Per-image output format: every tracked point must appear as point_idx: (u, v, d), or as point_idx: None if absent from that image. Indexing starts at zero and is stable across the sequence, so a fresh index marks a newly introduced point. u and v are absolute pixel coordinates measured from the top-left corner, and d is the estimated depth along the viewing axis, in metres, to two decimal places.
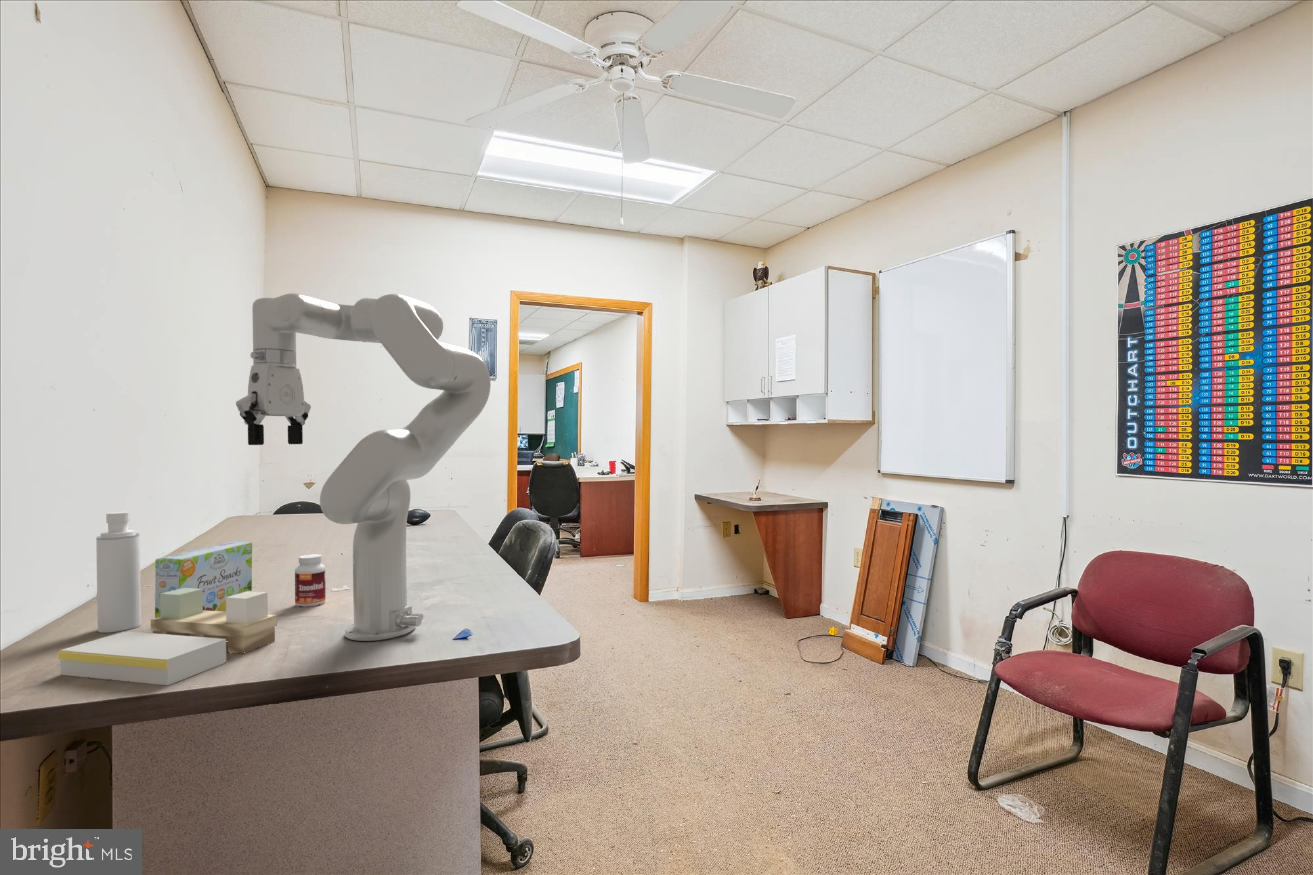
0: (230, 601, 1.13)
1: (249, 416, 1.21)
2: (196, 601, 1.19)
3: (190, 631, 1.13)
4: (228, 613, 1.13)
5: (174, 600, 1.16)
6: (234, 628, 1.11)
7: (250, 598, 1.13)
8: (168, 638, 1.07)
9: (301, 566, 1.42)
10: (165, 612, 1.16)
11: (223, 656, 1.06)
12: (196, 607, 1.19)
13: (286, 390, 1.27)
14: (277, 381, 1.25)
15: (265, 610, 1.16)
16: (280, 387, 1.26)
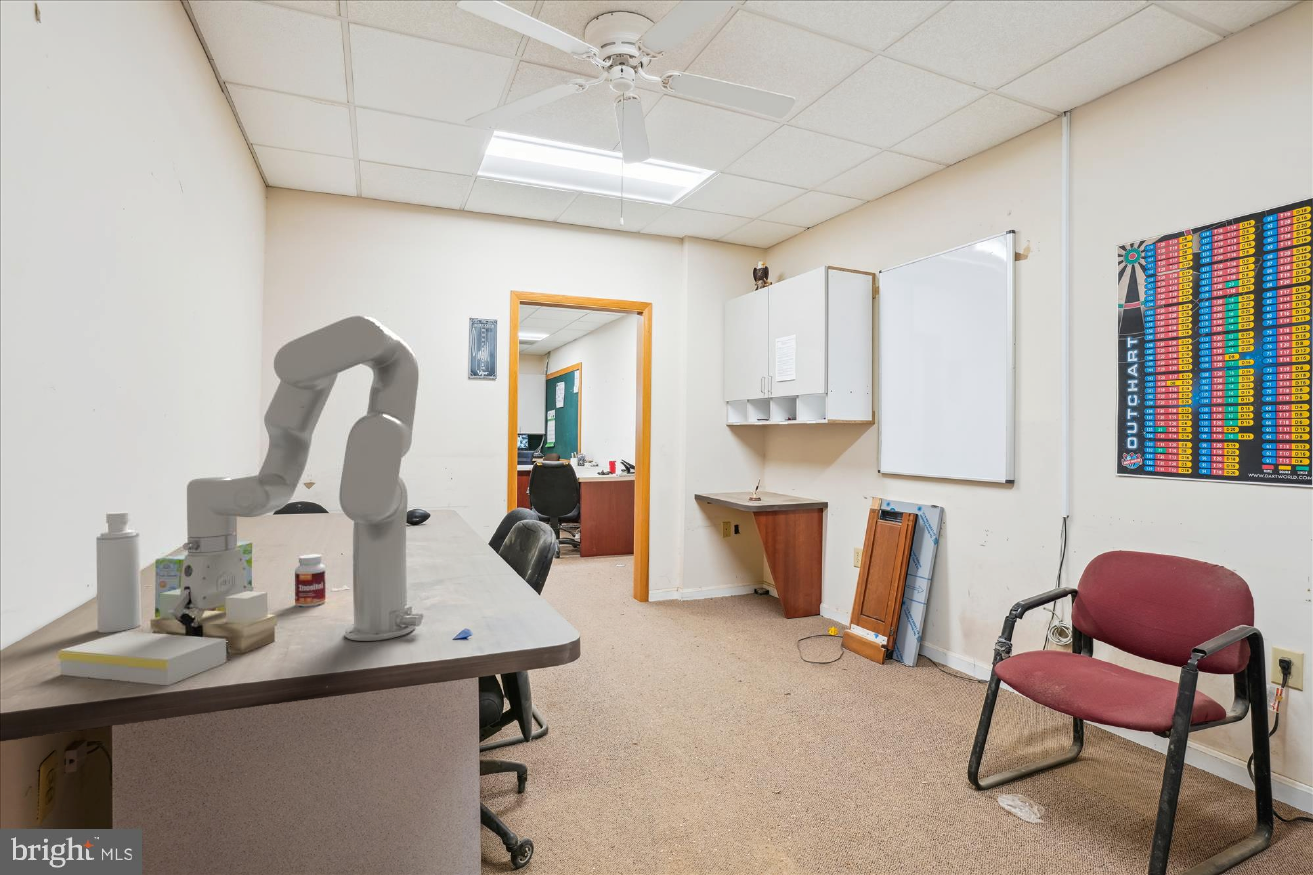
0: (230, 601, 1.13)
1: (186, 620, 1.10)
2: None
3: None
4: (228, 613, 1.13)
5: (174, 600, 1.16)
6: (234, 628, 1.11)
7: (250, 598, 1.13)
8: (168, 638, 1.07)
9: (301, 566, 1.42)
10: (164, 612, 1.16)
11: (223, 656, 1.06)
12: None
13: (224, 578, 1.16)
14: (214, 571, 1.14)
15: (265, 610, 1.16)
16: (217, 577, 1.14)
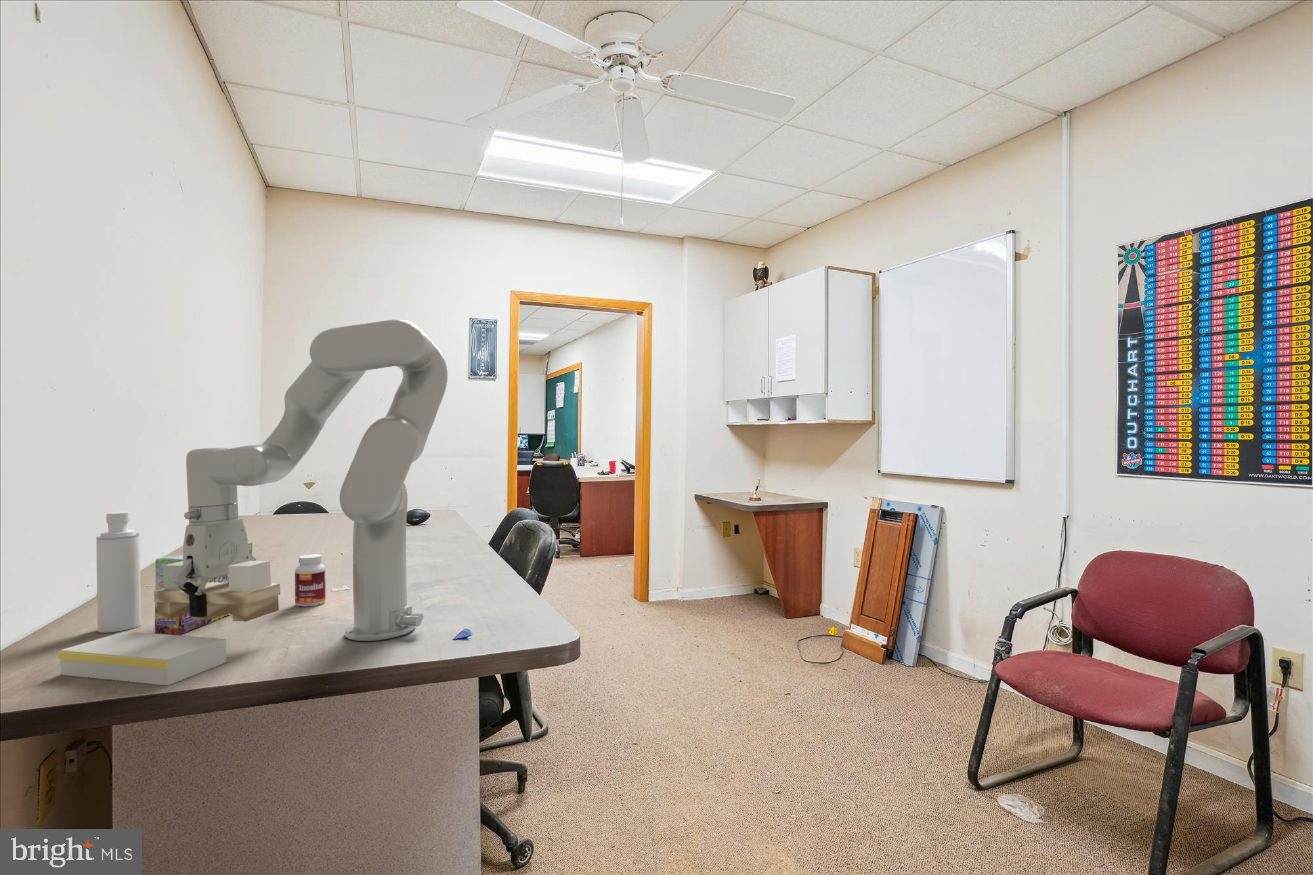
0: (233, 569, 1.13)
1: (189, 588, 1.10)
2: None
3: None
4: (231, 582, 1.13)
5: None
6: (237, 596, 1.11)
7: (252, 566, 1.13)
8: (168, 638, 1.07)
9: (301, 566, 1.42)
10: (168, 584, 1.16)
11: (223, 656, 1.06)
12: None
13: (226, 548, 1.16)
14: (216, 540, 1.14)
15: (268, 578, 1.16)
16: (219, 547, 1.14)
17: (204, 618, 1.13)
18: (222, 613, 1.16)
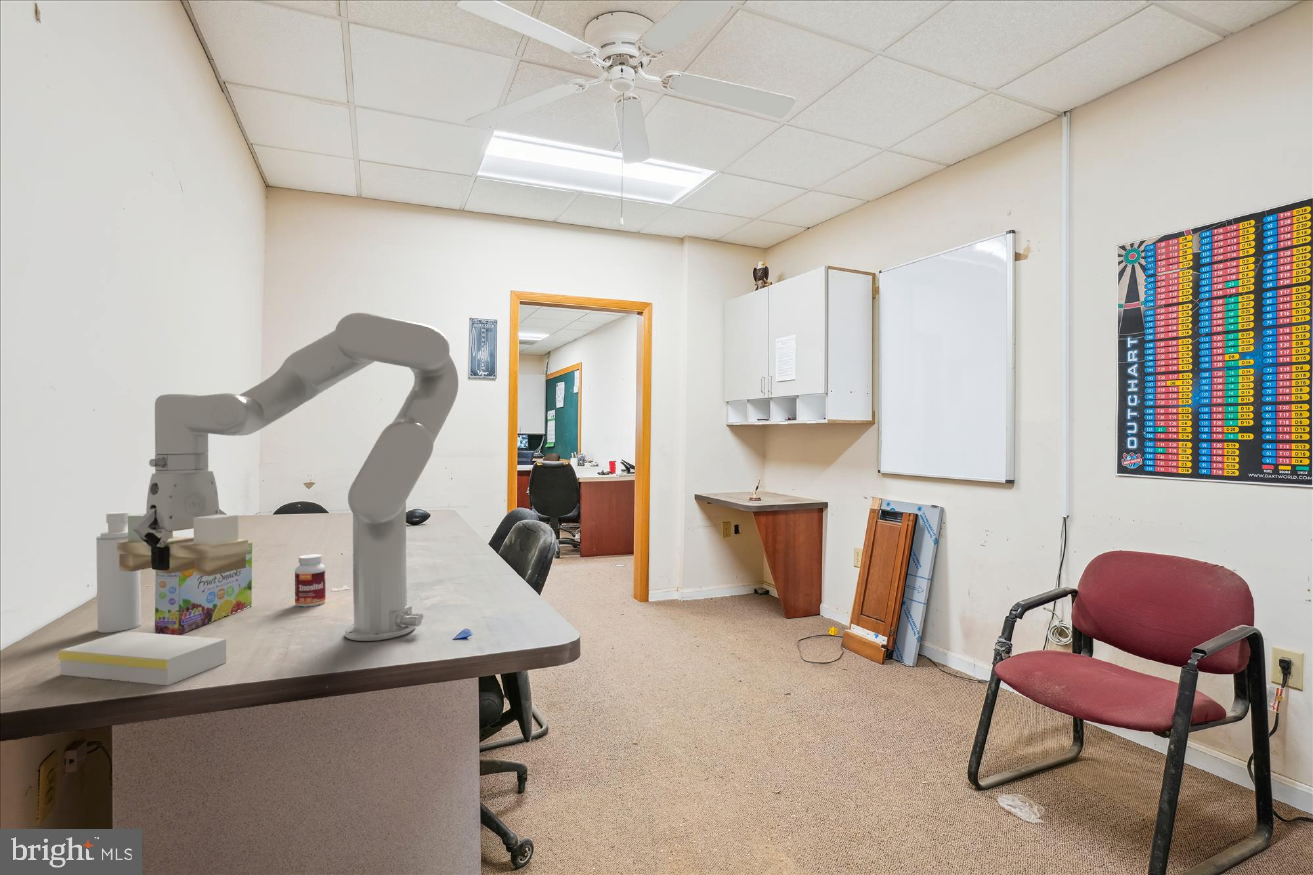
0: (198, 521, 1.07)
1: (151, 539, 1.05)
2: None
3: None
4: (196, 534, 1.07)
5: None
6: (201, 549, 1.05)
7: (218, 518, 1.07)
8: (168, 638, 1.07)
9: (301, 566, 1.42)
10: (132, 535, 1.11)
11: (223, 656, 1.06)
12: None
13: (193, 499, 1.10)
14: (182, 491, 1.08)
15: (235, 533, 1.10)
16: (185, 498, 1.09)
17: (166, 572, 1.07)
18: (186, 568, 1.10)
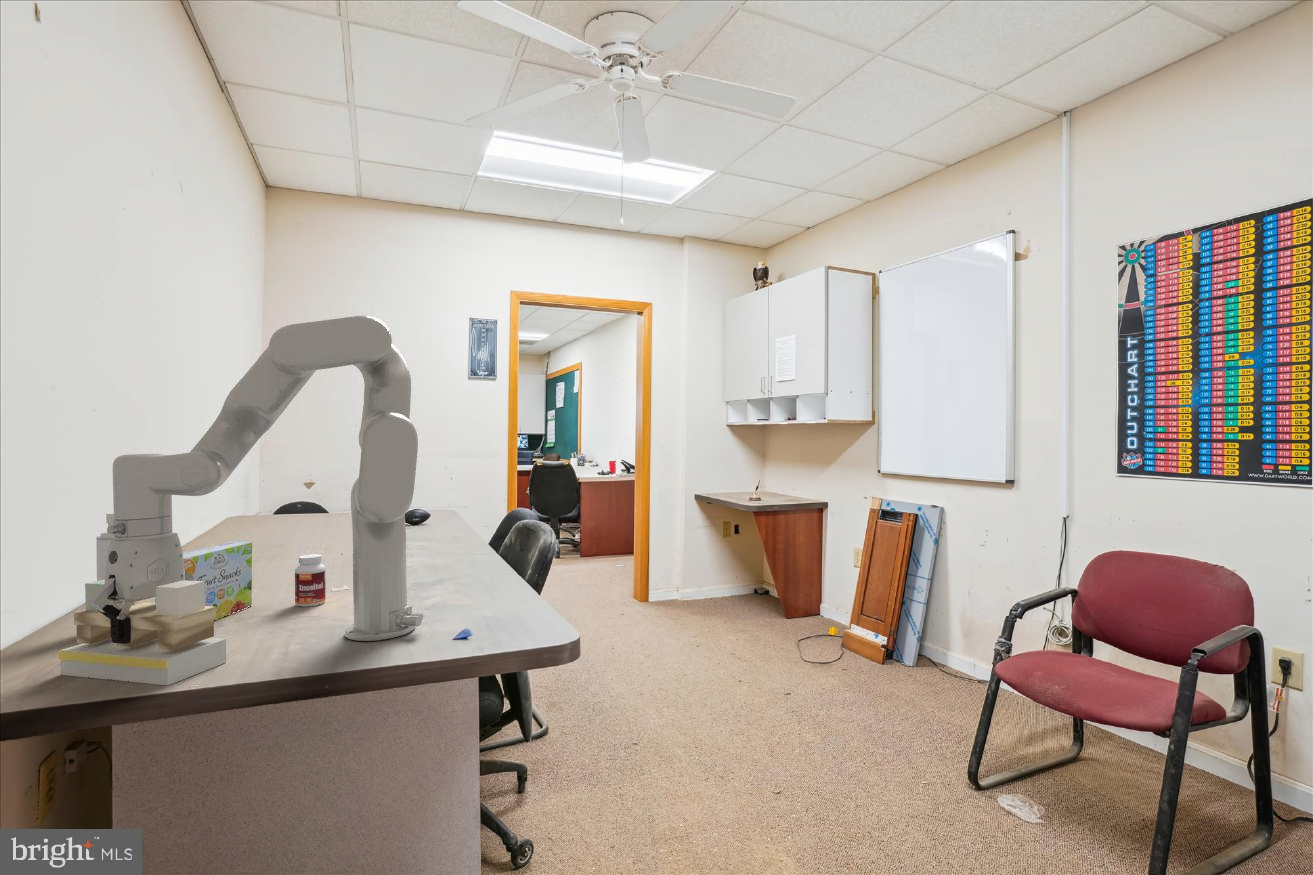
0: (161, 591, 1.01)
1: (110, 612, 0.98)
2: None
3: None
4: (159, 604, 1.01)
5: None
6: (164, 622, 0.99)
7: (183, 587, 1.01)
8: None
9: (301, 566, 1.42)
10: (90, 604, 1.04)
11: (223, 656, 1.06)
12: None
13: (156, 566, 1.03)
14: (143, 558, 1.01)
15: (202, 601, 1.04)
16: (147, 565, 1.02)
17: (127, 645, 1.01)
18: (149, 639, 1.03)
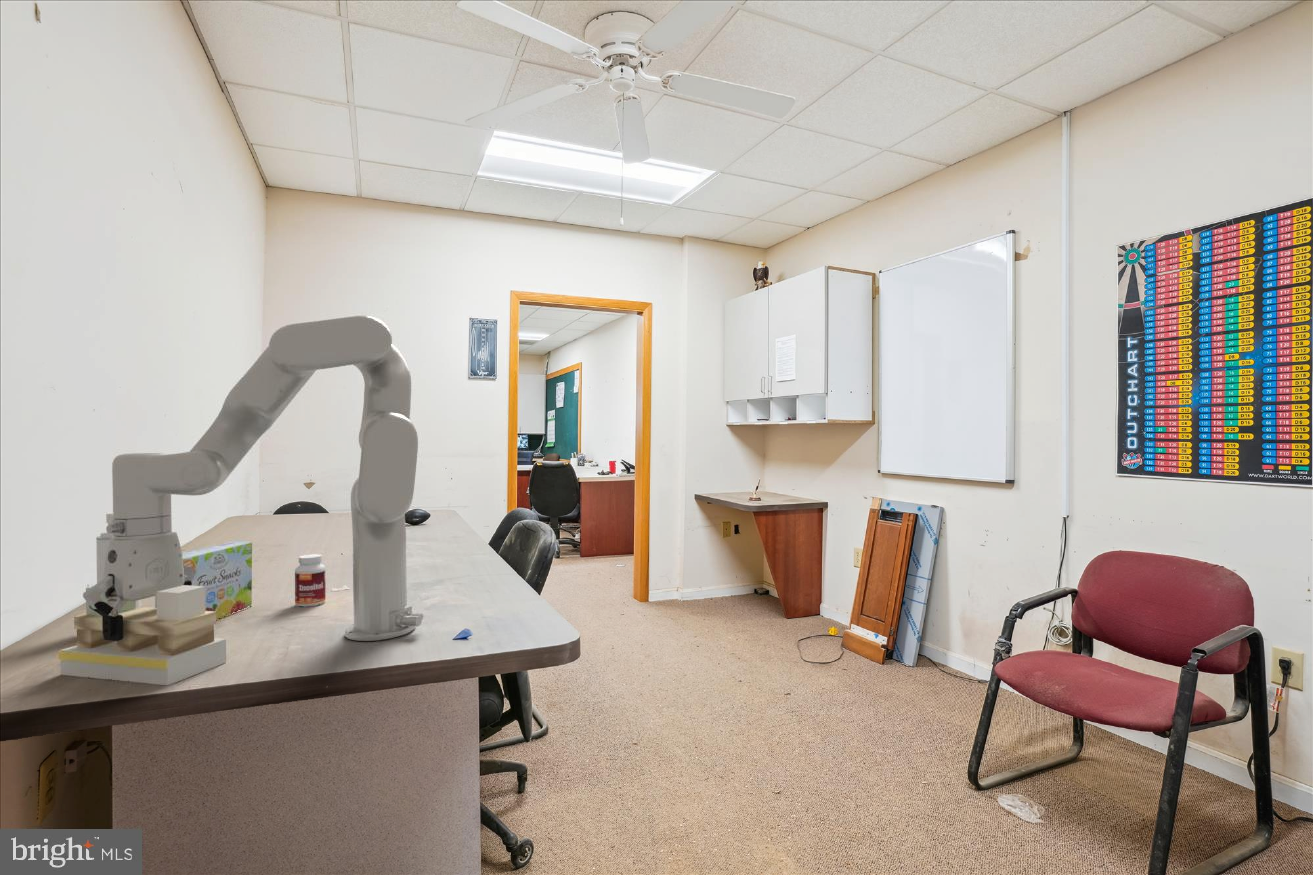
0: (161, 596, 1.01)
1: (101, 609, 0.97)
2: None
3: None
4: (159, 609, 1.01)
5: (101, 595, 1.04)
6: (164, 627, 0.99)
7: (183, 592, 1.01)
8: None
9: (301, 566, 1.42)
10: None
11: (223, 656, 1.06)
12: (127, 603, 1.07)
13: (155, 565, 1.03)
14: (143, 557, 1.01)
15: (202, 606, 1.04)
16: (147, 564, 1.02)
17: (127, 649, 1.01)
18: (149, 643, 1.03)
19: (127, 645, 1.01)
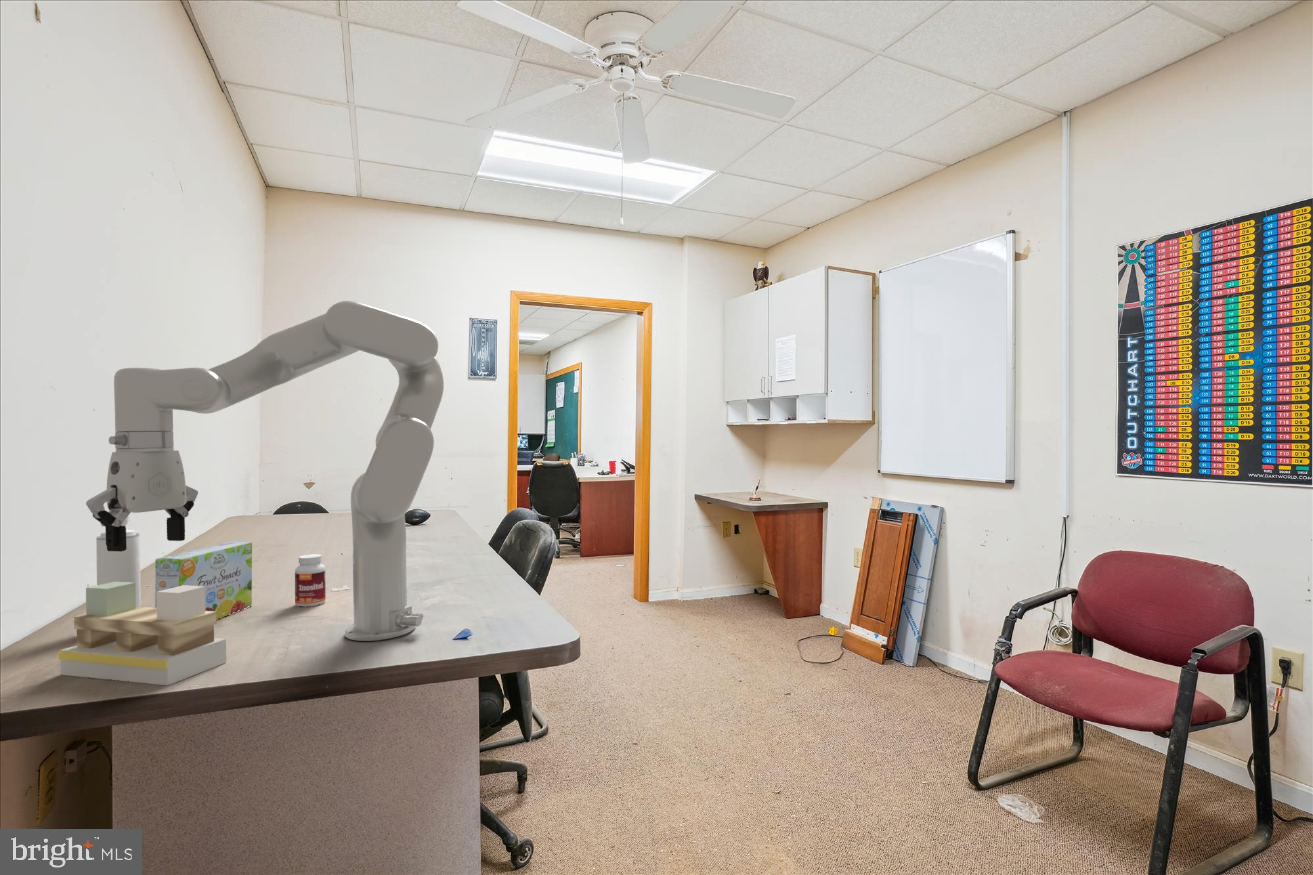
0: (161, 596, 1.01)
1: (105, 518, 0.98)
2: (128, 596, 1.07)
3: (117, 629, 1.01)
4: (159, 609, 1.01)
5: (101, 595, 1.04)
6: (164, 627, 0.99)
7: (183, 592, 1.01)
8: None
9: (301, 566, 1.42)
10: (91, 608, 1.04)
11: (223, 656, 1.06)
12: (127, 603, 1.07)
13: (157, 480, 1.04)
14: (145, 470, 1.02)
15: (202, 606, 1.04)
16: (149, 478, 1.02)
17: (127, 649, 1.01)
18: (149, 643, 1.03)
19: (127, 645, 1.01)
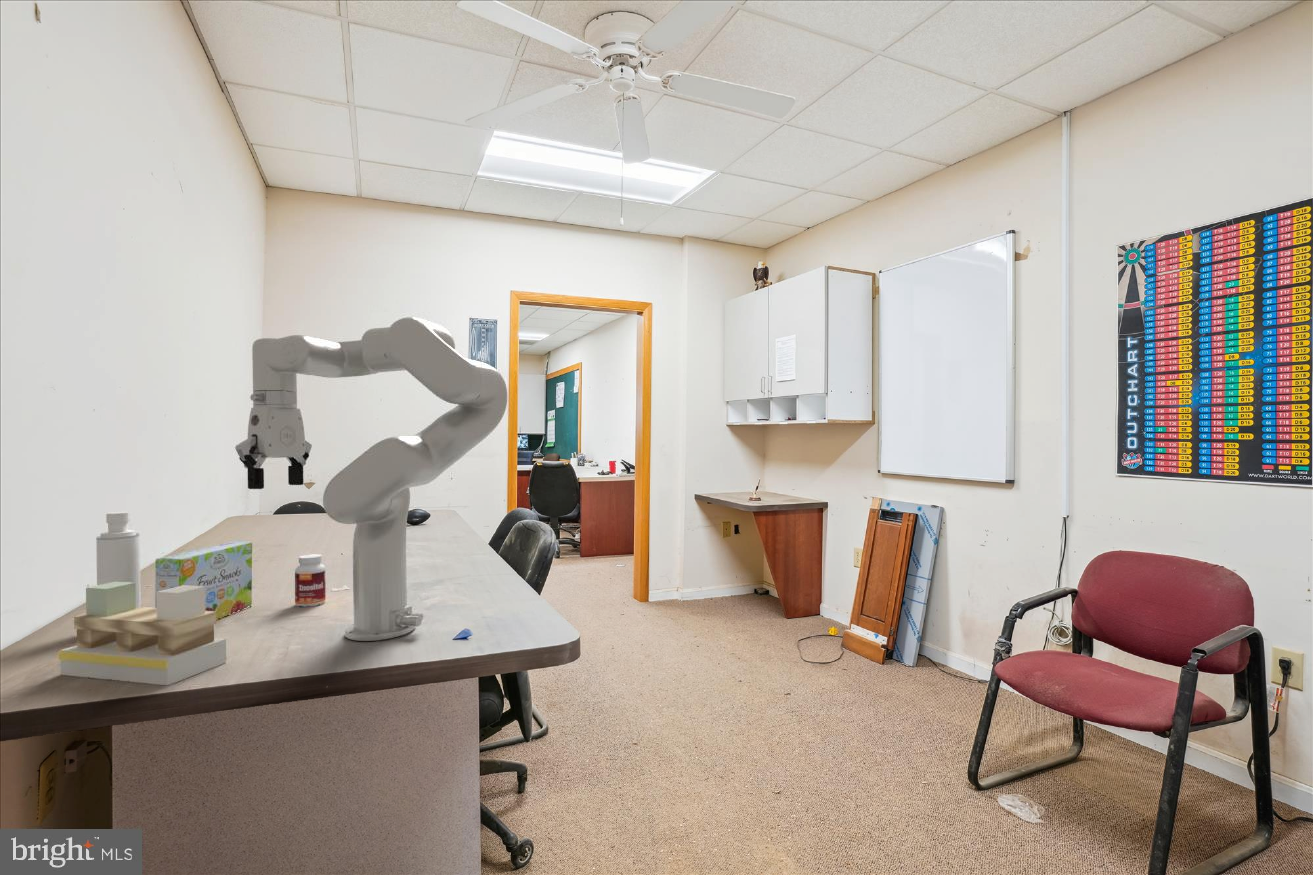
0: (161, 596, 1.01)
1: (249, 460, 1.19)
2: (128, 596, 1.07)
3: (117, 629, 1.01)
4: (159, 609, 1.01)
5: (101, 595, 1.04)
6: (164, 627, 0.99)
7: (183, 592, 1.01)
8: None
9: (301, 566, 1.42)
10: (91, 608, 1.04)
11: (223, 656, 1.06)
12: (127, 603, 1.07)
13: (286, 431, 1.25)
14: (278, 423, 1.23)
15: (202, 606, 1.04)
16: (280, 429, 1.23)
17: (127, 649, 1.01)
18: (149, 643, 1.03)
19: (127, 645, 1.01)
